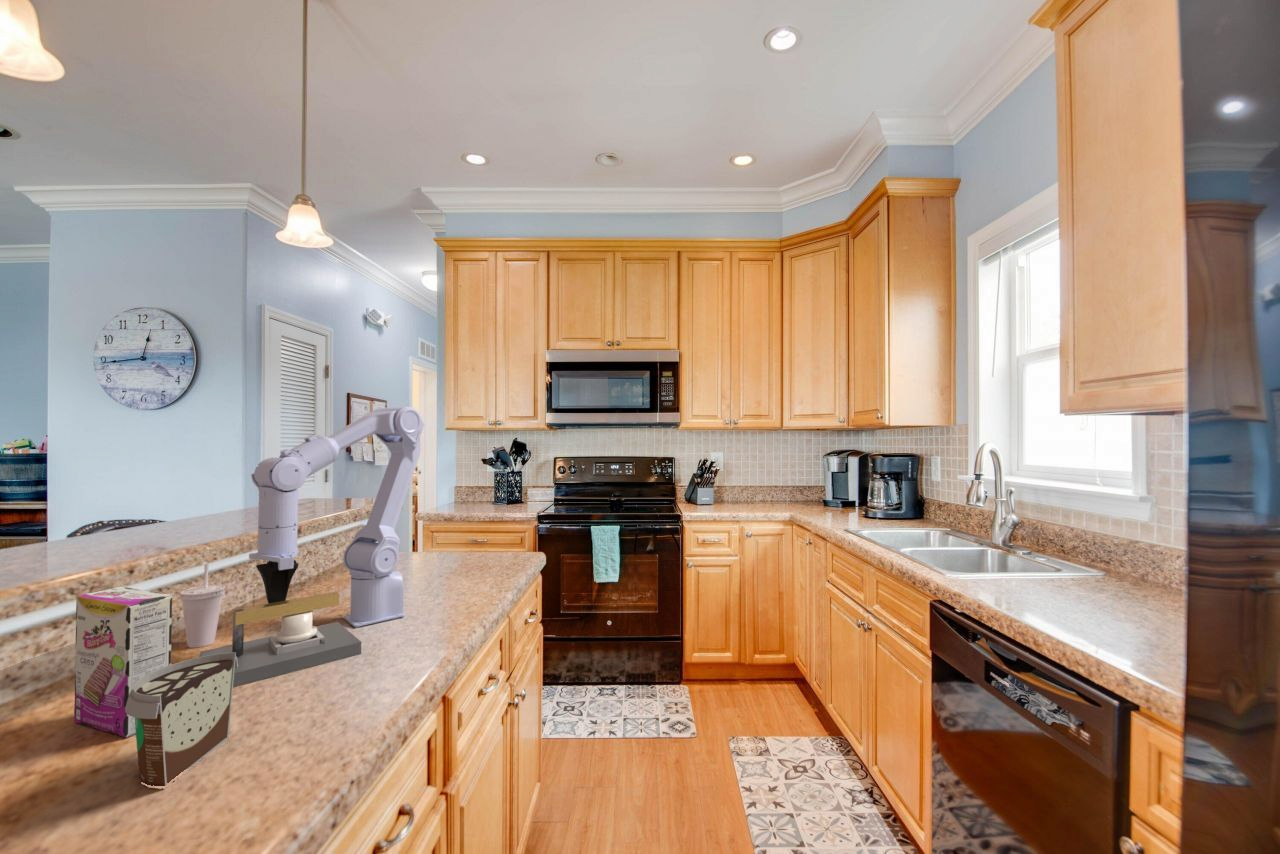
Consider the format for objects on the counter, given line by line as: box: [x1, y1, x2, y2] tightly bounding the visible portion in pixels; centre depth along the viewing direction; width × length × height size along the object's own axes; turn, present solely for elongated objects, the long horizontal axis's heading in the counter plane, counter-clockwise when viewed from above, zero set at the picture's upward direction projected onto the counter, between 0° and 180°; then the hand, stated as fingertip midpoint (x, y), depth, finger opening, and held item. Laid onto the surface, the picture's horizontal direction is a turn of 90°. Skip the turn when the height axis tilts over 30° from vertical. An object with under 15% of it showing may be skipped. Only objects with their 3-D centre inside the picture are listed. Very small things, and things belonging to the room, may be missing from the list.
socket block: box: [199, 621, 362, 688], centre depth 87 cm, size 20×14×3 cm
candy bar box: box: [73, 586, 173, 738], centre depth 67 cm, size 11×5×16 cm, turn 71°
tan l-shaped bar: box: [231, 591, 340, 657], centre depth 88 cm, size 15×2×7 cm, turn 134°
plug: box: [275, 610, 317, 646], centre depth 88 cm, size 6×6×5 cm
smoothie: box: [178, 563, 226, 649], centre depth 94 cm, size 6×6×14 cm
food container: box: [125, 652, 238, 786], centre depth 59 cm, size 12×6×10 cm, turn 5°
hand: (276, 604), depth 91 cm, fingers closed
